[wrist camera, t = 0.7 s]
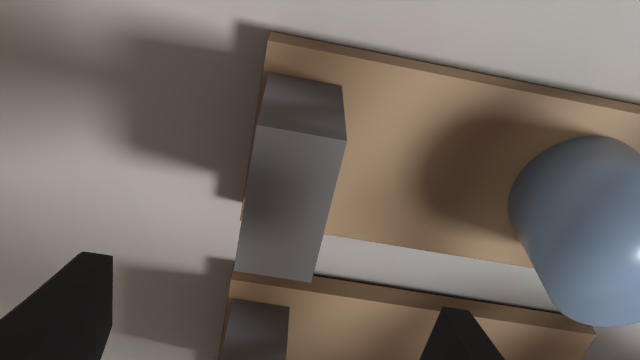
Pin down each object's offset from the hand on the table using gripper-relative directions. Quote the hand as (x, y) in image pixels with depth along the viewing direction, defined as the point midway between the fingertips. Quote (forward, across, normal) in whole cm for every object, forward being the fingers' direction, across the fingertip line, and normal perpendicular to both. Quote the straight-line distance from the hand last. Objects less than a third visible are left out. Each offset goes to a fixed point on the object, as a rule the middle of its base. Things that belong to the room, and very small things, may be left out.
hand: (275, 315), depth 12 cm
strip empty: (+9, -7, +10) cm, 15 cm away
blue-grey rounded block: (+8, -11, 0) cm, 13 cm away
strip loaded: (+9, -7, 0) cm, 11 cm away
